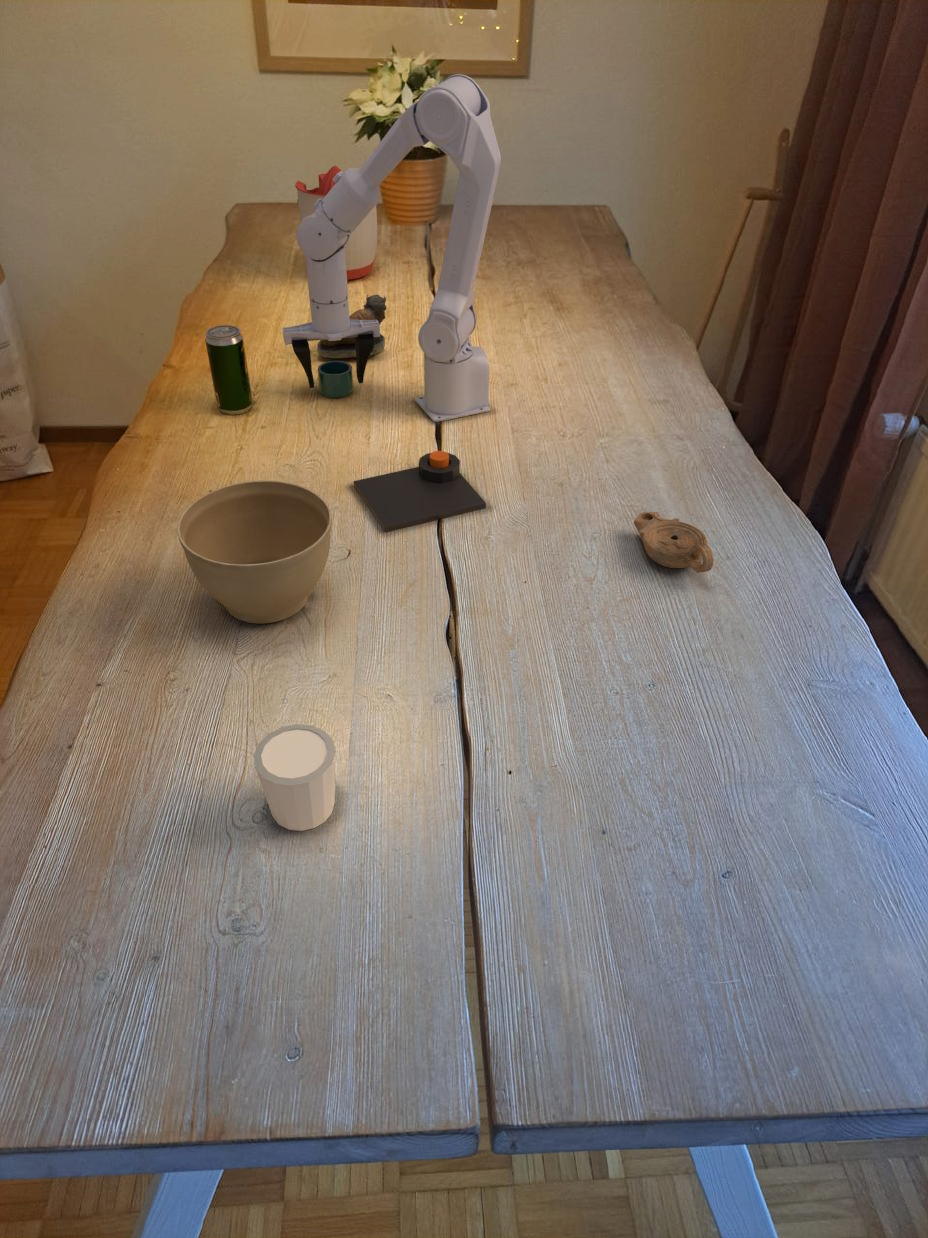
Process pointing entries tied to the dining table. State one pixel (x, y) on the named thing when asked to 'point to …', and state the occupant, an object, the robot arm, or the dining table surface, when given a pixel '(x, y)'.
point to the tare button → (439, 459)
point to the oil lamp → (673, 542)
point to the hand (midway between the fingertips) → (335, 382)
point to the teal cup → (335, 379)
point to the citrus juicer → (360, 240)
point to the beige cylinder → (297, 775)
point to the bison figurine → (346, 346)
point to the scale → (419, 494)
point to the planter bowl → (257, 547)
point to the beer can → (229, 369)
